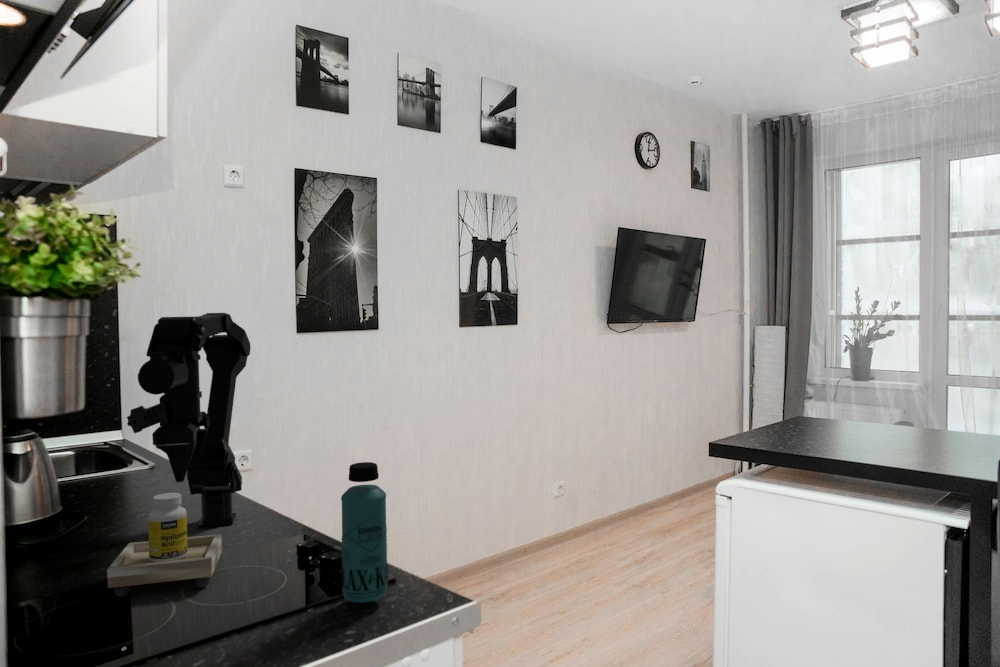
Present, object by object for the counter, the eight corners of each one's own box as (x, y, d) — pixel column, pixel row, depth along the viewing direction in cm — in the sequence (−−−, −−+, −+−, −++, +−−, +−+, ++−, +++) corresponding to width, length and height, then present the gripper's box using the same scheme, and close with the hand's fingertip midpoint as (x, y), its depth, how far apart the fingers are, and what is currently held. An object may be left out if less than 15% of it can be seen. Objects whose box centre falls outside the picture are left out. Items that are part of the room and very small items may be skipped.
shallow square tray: (130, 571, 111) (129, 542, 110) (222, 561, 114) (221, 534, 114) (108, 601, 99) (107, 569, 99) (212, 589, 103) (210, 558, 102)
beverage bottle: (333, 604, 97) (329, 464, 96) (372, 590, 101) (369, 456, 101) (358, 618, 92) (355, 471, 91) (399, 603, 97) (395, 463, 96)
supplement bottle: (160, 566, 103) (157, 502, 103) (142, 559, 106) (140, 497, 106) (194, 556, 107) (192, 494, 107) (176, 549, 110) (174, 489, 110)
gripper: (144, 384, 127) (147, 467, 128) (115, 396, 109) (119, 493, 110) (208, 382, 130) (211, 463, 130) (191, 392, 112) (194, 487, 112)
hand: (184, 475), depth 121 cm, fingers open, 9 cm apart
